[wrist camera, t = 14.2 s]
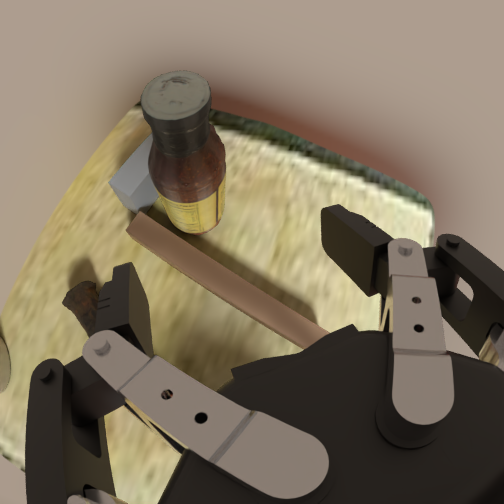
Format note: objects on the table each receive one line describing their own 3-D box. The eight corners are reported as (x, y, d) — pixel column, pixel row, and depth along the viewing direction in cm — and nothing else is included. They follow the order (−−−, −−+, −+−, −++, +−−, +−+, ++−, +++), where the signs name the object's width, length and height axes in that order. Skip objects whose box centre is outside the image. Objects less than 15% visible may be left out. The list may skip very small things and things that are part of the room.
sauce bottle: (195, 177, 35) (185, 41, 16) (235, 209, 35) (260, 83, 16) (155, 216, 34) (103, 96, 14) (195, 251, 33) (175, 151, 14)
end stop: (142, 218, 33) (129, 196, 28) (123, 205, 33) (108, 182, 28) (183, 166, 35) (179, 137, 30) (164, 154, 36) (157, 126, 30)
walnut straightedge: (308, 352, 32) (317, 354, 29) (132, 238, 33) (125, 230, 30) (320, 332, 33) (329, 332, 30) (145, 220, 33) (139, 210, 30)
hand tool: (71, 301, 30) (52, 297, 26) (97, 281, 31) (80, 275, 27) (171, 440, 28) (165, 456, 24) (199, 422, 29) (197, 437, 24)
